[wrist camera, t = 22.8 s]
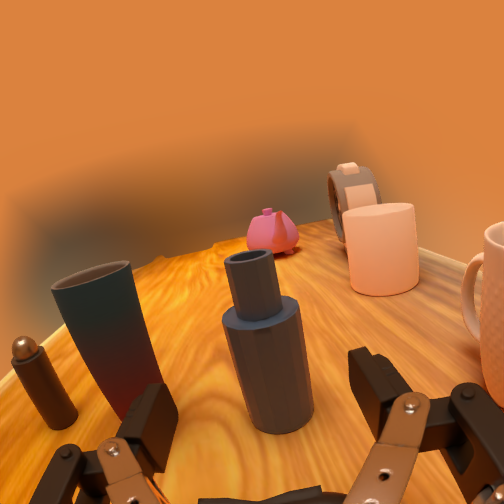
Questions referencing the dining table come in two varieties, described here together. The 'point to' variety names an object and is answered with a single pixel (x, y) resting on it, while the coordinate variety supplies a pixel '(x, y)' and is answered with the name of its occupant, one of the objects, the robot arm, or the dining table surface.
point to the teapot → (272, 232)
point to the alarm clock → (350, 193)
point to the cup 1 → (109, 331)
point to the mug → (488, 309)
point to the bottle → (267, 344)
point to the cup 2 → (382, 248)
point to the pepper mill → (42, 383)
